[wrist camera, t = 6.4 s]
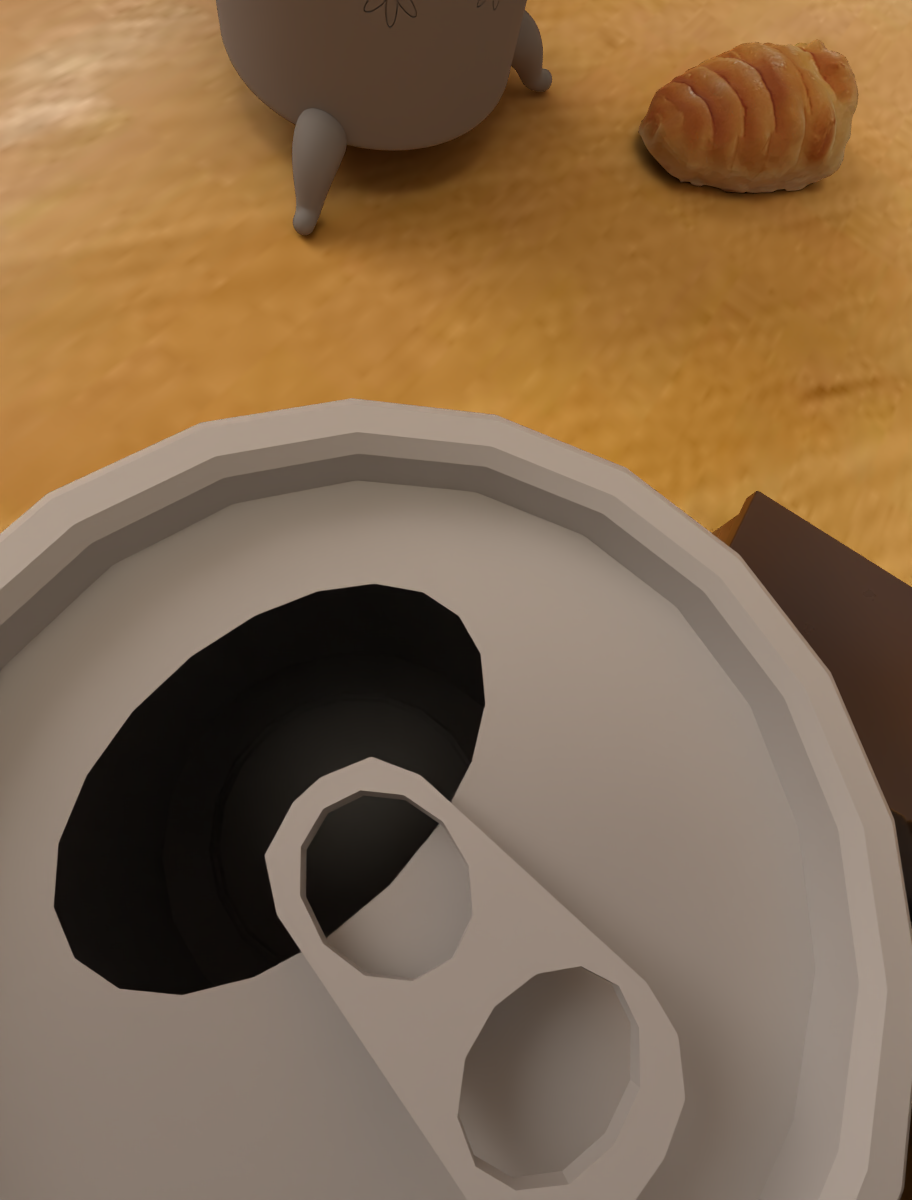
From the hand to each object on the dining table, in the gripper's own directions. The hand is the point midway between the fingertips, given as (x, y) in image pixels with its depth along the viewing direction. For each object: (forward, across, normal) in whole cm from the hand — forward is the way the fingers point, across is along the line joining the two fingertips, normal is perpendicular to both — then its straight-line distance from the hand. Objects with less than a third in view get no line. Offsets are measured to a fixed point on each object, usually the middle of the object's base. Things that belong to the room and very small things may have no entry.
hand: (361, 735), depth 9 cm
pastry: (+28, -20, -10) cm, 36 cm away
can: (+4, 0, +6) cm, 7 cm away
